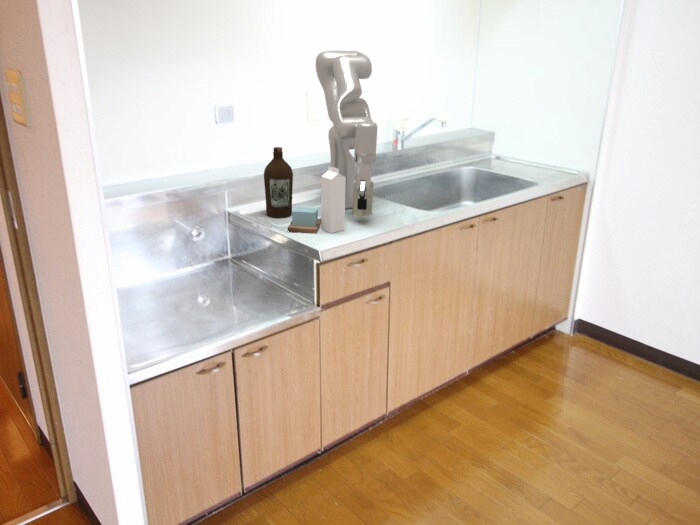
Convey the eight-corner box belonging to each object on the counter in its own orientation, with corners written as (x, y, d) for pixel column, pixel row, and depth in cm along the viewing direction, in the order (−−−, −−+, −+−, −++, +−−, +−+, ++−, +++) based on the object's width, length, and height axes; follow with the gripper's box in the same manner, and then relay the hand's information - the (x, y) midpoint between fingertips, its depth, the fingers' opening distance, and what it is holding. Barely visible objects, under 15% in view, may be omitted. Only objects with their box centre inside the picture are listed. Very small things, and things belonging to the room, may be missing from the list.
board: (293, 221, 223) (293, 217, 222) (321, 223, 222) (321, 219, 221) (287, 232, 211) (287, 227, 211) (316, 233, 211) (316, 229, 210)
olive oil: (263, 211, 234) (261, 145, 225) (291, 210, 237) (290, 144, 228) (266, 219, 225) (264, 150, 216) (295, 218, 227) (294, 150, 218)
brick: (295, 220, 219) (295, 206, 217) (317, 221, 219) (317, 207, 217) (292, 225, 214) (292, 211, 212) (315, 226, 213) (315, 212, 211)
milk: (330, 233, 211) (331, 170, 203) (320, 229, 216) (320, 166, 208) (345, 230, 215) (346, 168, 206) (334, 226, 219) (335, 164, 211)
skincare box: (363, 211, 227) (365, 179, 222) (372, 214, 224) (374, 182, 220) (351, 214, 223) (353, 182, 218) (360, 218, 220) (362, 185, 215)
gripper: (356, 151, 224) (354, 198, 231) (352, 163, 208) (350, 212, 215) (377, 152, 223) (374, 199, 230) (374, 164, 207) (371, 214, 214)
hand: (362, 205), depth 222 cm, fingers closed on skincare box, 7 cm apart
